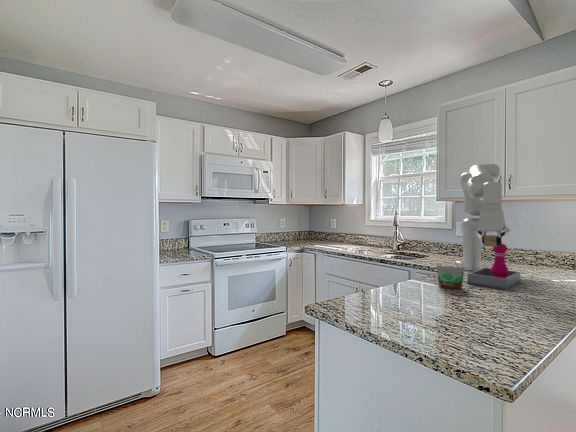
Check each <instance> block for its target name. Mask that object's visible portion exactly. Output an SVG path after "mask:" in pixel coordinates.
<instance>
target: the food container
mask: <svg viewBox="0 0 576 432" xmlns="http://www.w3.org/2000/svg"><path fill="white" fill-rule="evenodd" d="M435 266H436V267H435V270H436V271H437V281H438V287H440V288H442V289H446V290H453V291H454V290H458V291H459V290H462V287H463V280H464V273H465V272H466V271H467V270H465V268H464V267H462V268H460V267H454V266H443V265H438V264H436V265H435Z"/></svg>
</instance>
